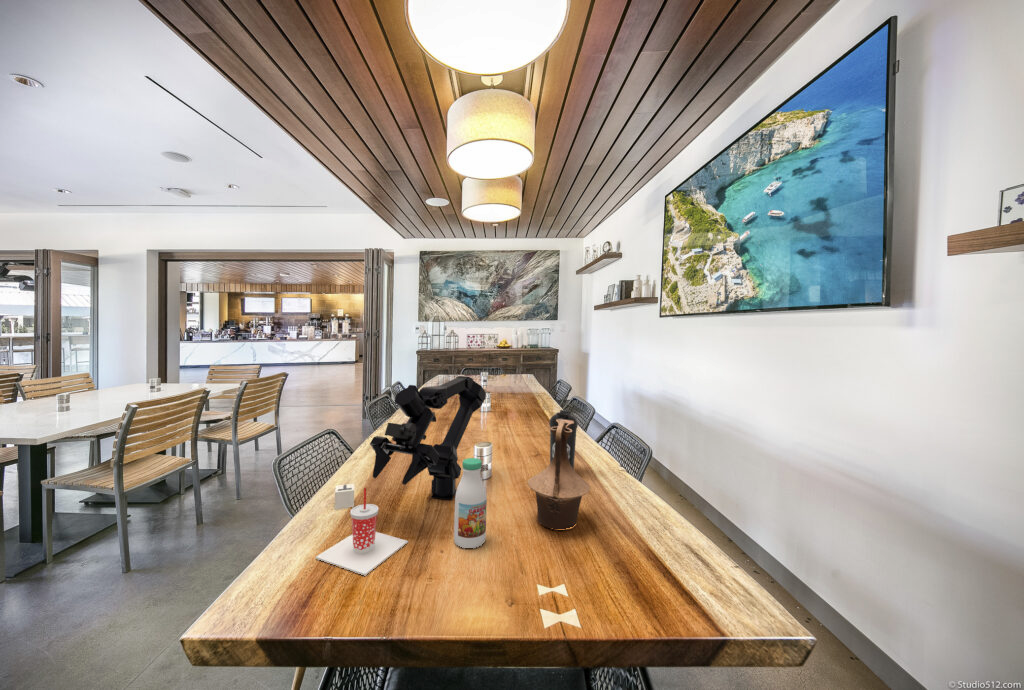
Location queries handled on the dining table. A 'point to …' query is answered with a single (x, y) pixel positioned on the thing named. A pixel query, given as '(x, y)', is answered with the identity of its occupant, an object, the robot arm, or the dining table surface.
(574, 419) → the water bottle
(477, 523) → the milk bottle
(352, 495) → the letter block
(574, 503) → the pitcher
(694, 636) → the dining table surface
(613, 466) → the dining table surface
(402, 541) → the mat
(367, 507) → the beverage cup
